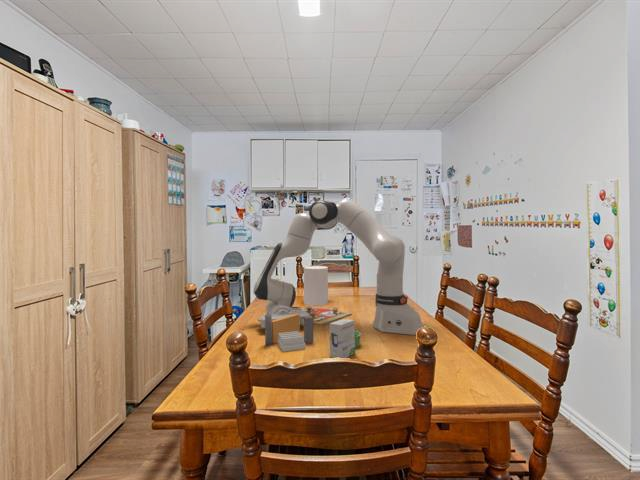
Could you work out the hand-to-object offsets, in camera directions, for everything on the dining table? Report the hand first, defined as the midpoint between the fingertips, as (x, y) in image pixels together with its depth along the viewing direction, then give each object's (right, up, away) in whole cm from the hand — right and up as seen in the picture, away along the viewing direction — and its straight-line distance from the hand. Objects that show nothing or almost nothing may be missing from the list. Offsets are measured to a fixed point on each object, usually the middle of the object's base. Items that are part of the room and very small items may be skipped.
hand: (289, 324), depth 146 cm
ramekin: (+22, -6, -8) cm, 25 cm away
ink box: (+20, -7, -19) cm, 28 cm away
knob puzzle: (+8, -4, +35) cm, 37 cm away
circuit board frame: (0, -6, -8) cm, 10 cm away
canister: (+10, -2, +63) cm, 64 cm away
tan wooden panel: (-1, -4, -4) cm, 6 cm away
